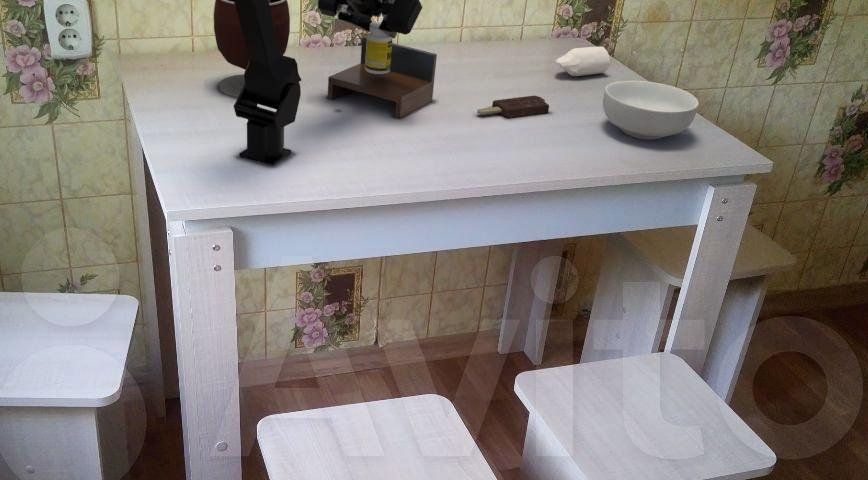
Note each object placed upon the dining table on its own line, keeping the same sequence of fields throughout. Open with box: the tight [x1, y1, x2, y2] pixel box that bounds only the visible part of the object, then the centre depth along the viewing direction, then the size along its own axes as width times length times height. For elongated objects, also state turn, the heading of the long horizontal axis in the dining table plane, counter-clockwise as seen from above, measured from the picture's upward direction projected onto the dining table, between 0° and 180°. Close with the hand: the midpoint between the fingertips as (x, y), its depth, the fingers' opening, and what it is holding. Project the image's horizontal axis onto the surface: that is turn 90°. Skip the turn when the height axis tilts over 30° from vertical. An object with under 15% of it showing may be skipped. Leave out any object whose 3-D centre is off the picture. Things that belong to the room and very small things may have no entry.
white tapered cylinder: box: [555, 46, 611, 77], centre depth 204 cm, size 6×12×6 cm, turn 119°
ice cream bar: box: [476, 95, 550, 119], centre depth 185 cm, size 5×2×15 cm
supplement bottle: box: [365, 21, 394, 74], centre depth 180 cm, size 5×5×8 cm
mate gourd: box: [213, 0, 291, 99], centre depth 182 cm, size 16×14×20 cm
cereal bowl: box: [602, 79, 699, 141], centre depth 179 cm, size 17×17×7 cm
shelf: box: [327, 35, 438, 119], centre depth 184 cm, size 12×16×9 cm
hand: (383, 33), depth 179 cm, fingers closed on supplement bottle, 4 cm apart
